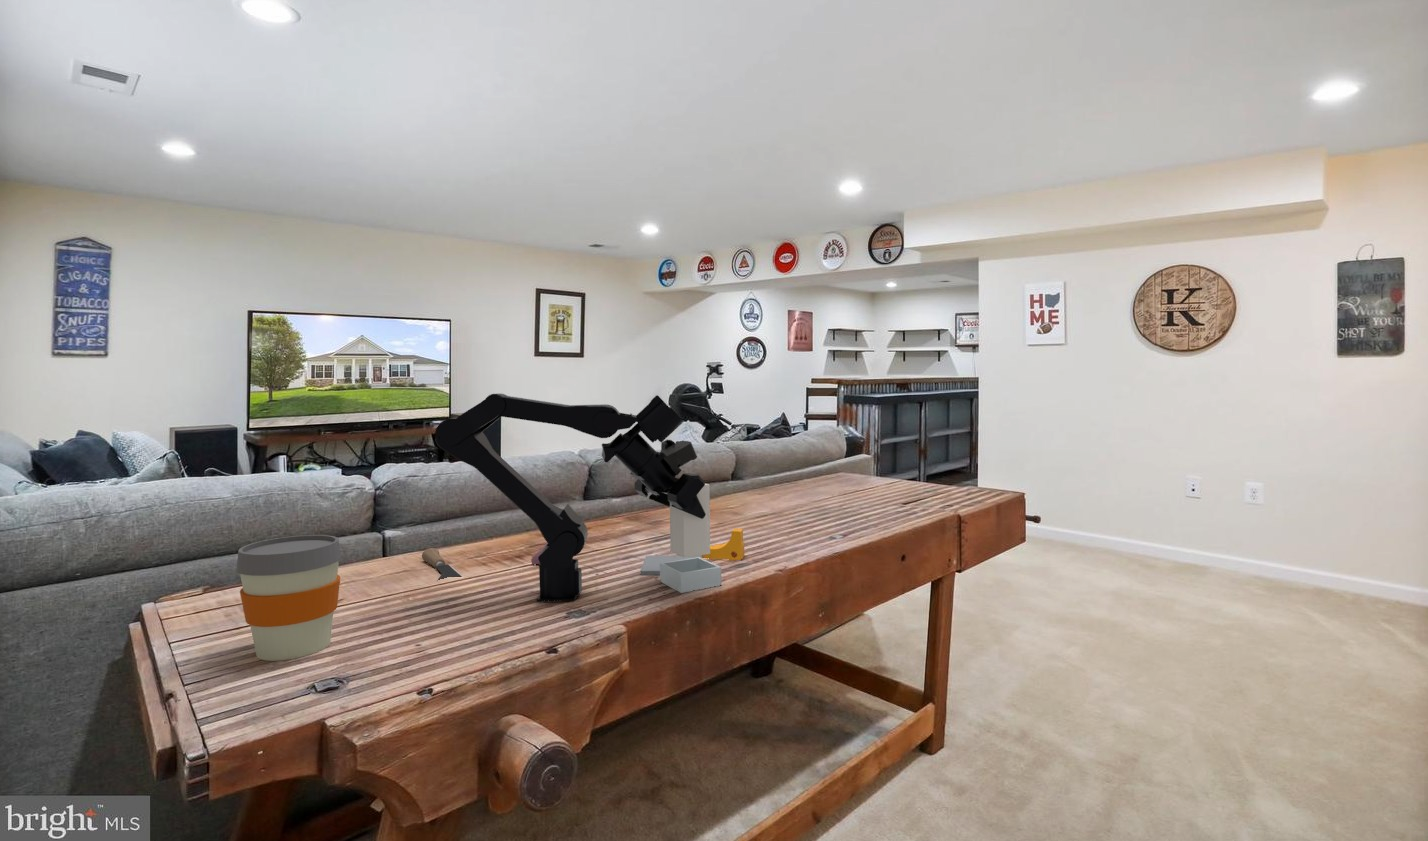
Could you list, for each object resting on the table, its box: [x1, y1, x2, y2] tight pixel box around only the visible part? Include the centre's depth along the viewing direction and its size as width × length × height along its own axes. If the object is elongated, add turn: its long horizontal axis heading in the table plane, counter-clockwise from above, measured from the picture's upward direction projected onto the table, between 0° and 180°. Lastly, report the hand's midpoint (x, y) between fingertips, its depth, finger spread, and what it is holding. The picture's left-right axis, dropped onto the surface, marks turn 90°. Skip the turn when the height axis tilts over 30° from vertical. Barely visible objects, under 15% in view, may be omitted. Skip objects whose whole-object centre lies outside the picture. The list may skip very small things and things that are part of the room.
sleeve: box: [659, 557, 722, 594], centre depth 123 cm, size 8×8×4 cm
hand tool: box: [421, 547, 463, 581], centre depth 132 cm, size 6×3×25 cm
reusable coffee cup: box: [236, 534, 342, 662], centre depth 94 cm, size 13×13×15 cm
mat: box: [639, 554, 702, 576], centre depth 135 cm, size 12×12×1 cm
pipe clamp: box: [702, 528, 745, 561], centre depth 143 cm, size 12×4×6 cm, turn 78°
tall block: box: [669, 483, 711, 558], centre depth 123 cm, size 6×6×13 cm
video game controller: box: [530, 541, 548, 565], centre depth 142 cm, size 10×5×7 cm, turn 0°
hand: (696, 514), depth 124 cm, fingers closed on tall block, 5 cm apart
